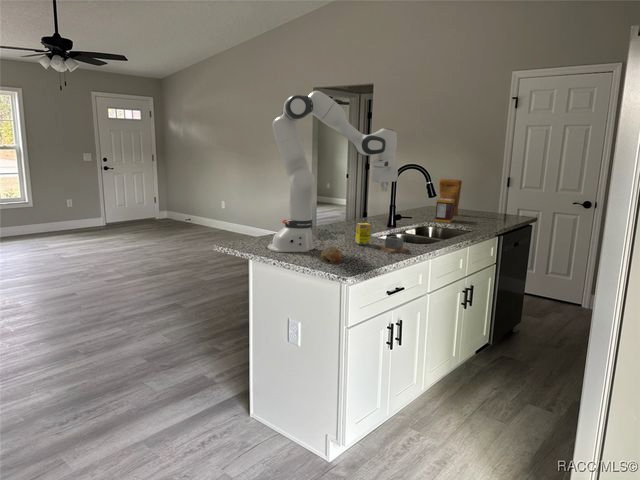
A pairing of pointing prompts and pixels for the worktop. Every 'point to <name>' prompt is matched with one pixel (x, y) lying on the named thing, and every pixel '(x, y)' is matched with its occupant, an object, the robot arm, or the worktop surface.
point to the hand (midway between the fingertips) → (384, 191)
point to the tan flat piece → (393, 249)
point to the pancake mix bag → (450, 191)
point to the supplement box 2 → (444, 210)
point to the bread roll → (331, 255)
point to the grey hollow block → (394, 242)
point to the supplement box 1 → (363, 234)
